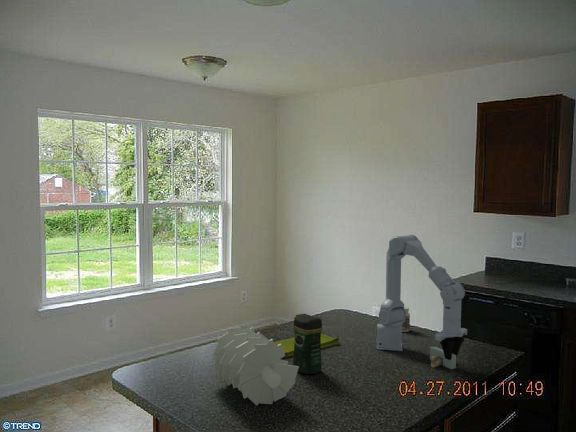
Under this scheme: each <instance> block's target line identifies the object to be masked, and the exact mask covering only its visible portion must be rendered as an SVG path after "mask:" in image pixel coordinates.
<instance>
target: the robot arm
mask: <svg viewBox="0 0 576 432" xmlns="http://www.w3.org/2000/svg"><path fill="white" fill-rule="evenodd" d="M405 256H412V257H414V258H415V259H416V260H417V261H418V262H419V263H420V264H421V266H423V267H424V268H425V269H426V271H428V278H429V280H431V282H432V283H433V284H434V285H435V287H436V288H437V289H438V290H439V291H440V292H439V293H440V294H439V295H440V298H441V299H442V305H443V310H442V311H443V312H442V313H443V315H442V330H441V331H439V332H438V333H435V334H434V340H435V341H437V342H439V343H440V346H441V349H442V350H443V352H444V356H445V359H448V360H451V358H452V354H454V355H456V359H458V355H459V353H460V352H459V351H460V349H461V346H462V344H463V343H464V342H465V337H463V336H467V334H468V329H467V328H465V327H461V325H462V323H461V322H462V321H461V320H462V319H461V318H462V300H463V299H464V297H465V295H466V290H465V287H464V286H463V284H462V283H459V282H456V280H455V279H453V278H452V276H450V274H449V273H448V272H447V269H446V268H445V267H442V266H440V265H439V266H438V265H436V263H435V262H434V261H433V259H432V258H431V256H430V255H429V254H428V253H427V251H426V249H425V248H424V247H423V244H422V241H421V240H420V239H419V238H418V237H417V235H415V234H410V235H409V234H408V235H396V236H393V237H392V238H391V239H390V240H388V248H387V251H386V256H385V257H386V261H385V262H386V265H385V300H383V302H381V304H380V309H379V312H378V320H379V323H377V324H376V325H377V329H376V330H377V331H376V332H377V333H376V338H375V339H376V340H375V343H376V350H381V351H382V350H383V351H385V350H386V351H397V352H403V344H402V333H403V332H402V324H403V321H404V320H405V318H406V311H405V309H404V307H405V303H404V302H403V301H402V299H401V295H402V294H401V293H402V292H401V290H402V289H401V287H402V285H401V284H402V283H401V282H402V281H401V280H402V278H401V277H402V259H403V258H405Z"/></svg>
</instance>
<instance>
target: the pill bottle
mask: <svg viewBox="0 0 576 432" xmlns="http://www.w3.org/2000/svg"><path fill="white" fill-rule="evenodd" d="M404 309H405V311H406V318H405V320H404V321H403V324H402V333H407V332H409V331H410V327H411V325H410V323H411V319H410V318H411V314H410V313H409V310H410V308H409V307H407V306H404Z"/></svg>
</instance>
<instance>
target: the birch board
mask: <svg viewBox="0 0 576 432" xmlns="http://www.w3.org/2000/svg"><path fill="white" fill-rule="evenodd" d="M440 366H443V358H440V355H435V356H431V360H430V367H431V368H438V367H440Z"/></svg>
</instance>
